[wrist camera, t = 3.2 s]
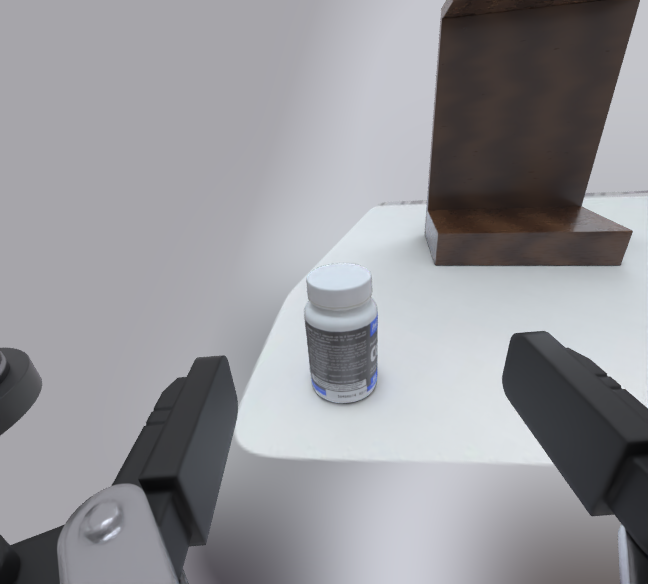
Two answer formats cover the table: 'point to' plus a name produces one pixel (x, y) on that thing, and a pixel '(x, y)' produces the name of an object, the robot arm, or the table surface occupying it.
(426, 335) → the table surface
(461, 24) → the shelf
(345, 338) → the pill bottle
